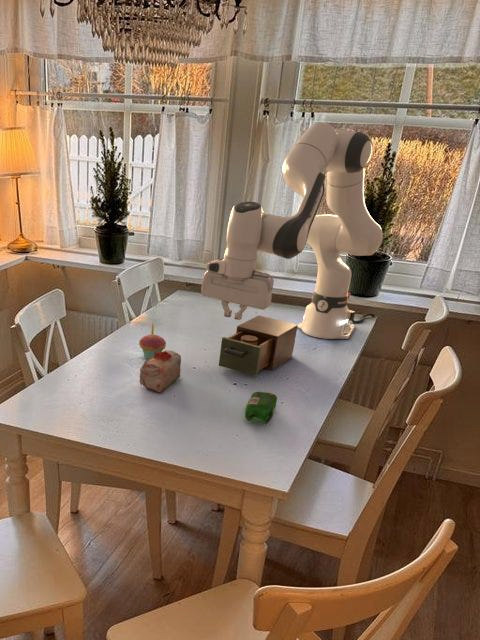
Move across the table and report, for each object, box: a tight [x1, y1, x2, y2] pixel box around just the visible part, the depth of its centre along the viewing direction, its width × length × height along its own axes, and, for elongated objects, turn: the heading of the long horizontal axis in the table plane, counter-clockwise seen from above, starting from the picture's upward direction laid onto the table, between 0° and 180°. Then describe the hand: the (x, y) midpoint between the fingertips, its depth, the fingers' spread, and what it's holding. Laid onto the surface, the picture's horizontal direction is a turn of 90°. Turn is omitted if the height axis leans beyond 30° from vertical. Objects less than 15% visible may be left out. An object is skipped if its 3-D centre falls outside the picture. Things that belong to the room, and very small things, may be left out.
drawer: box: [218, 330, 274, 377], centre depth 199 cm, size 18×13×9 cm
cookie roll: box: [241, 335, 258, 346], centre depth 199 cm, size 5×5×8 cm
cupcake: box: [138, 322, 167, 360], centre depth 205 cm, size 9×8×12 cm
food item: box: [139, 349, 182, 393], centre depth 187 cm, size 14×8×10 cm, turn 151°
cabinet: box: [235, 315, 299, 371], centre depth 208 cm, size 15×14×11 cm
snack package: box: [244, 390, 278, 424], centre depth 173 cm, size 7×16×5 cm, turn 161°
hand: (232, 317), depth 183 cm, fingers closed
